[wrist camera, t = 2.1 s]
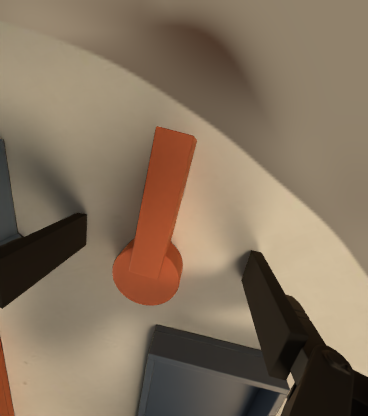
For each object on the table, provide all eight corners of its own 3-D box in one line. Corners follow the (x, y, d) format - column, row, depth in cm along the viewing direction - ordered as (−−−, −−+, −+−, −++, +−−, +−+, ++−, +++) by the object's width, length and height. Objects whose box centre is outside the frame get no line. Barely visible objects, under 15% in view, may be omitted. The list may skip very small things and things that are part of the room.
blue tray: (156, 324, 17) (148, 353, 14) (277, 354, 16) (290, 390, 14) (137, 428, 22) (129, 463, 20) (228, 454, 22) (231, 493, 19)
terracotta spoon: (145, 126, 12) (127, 118, 9) (219, 145, 12) (223, 143, 9) (119, 277, 16) (100, 305, 13) (174, 294, 16) (167, 325, 13)
